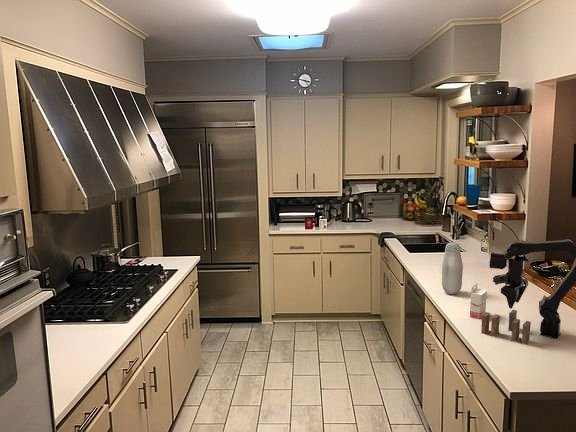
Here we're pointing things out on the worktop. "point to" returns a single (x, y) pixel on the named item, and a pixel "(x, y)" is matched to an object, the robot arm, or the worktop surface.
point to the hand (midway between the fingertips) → (513, 305)
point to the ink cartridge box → (477, 302)
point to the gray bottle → (452, 269)
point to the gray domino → (512, 318)
